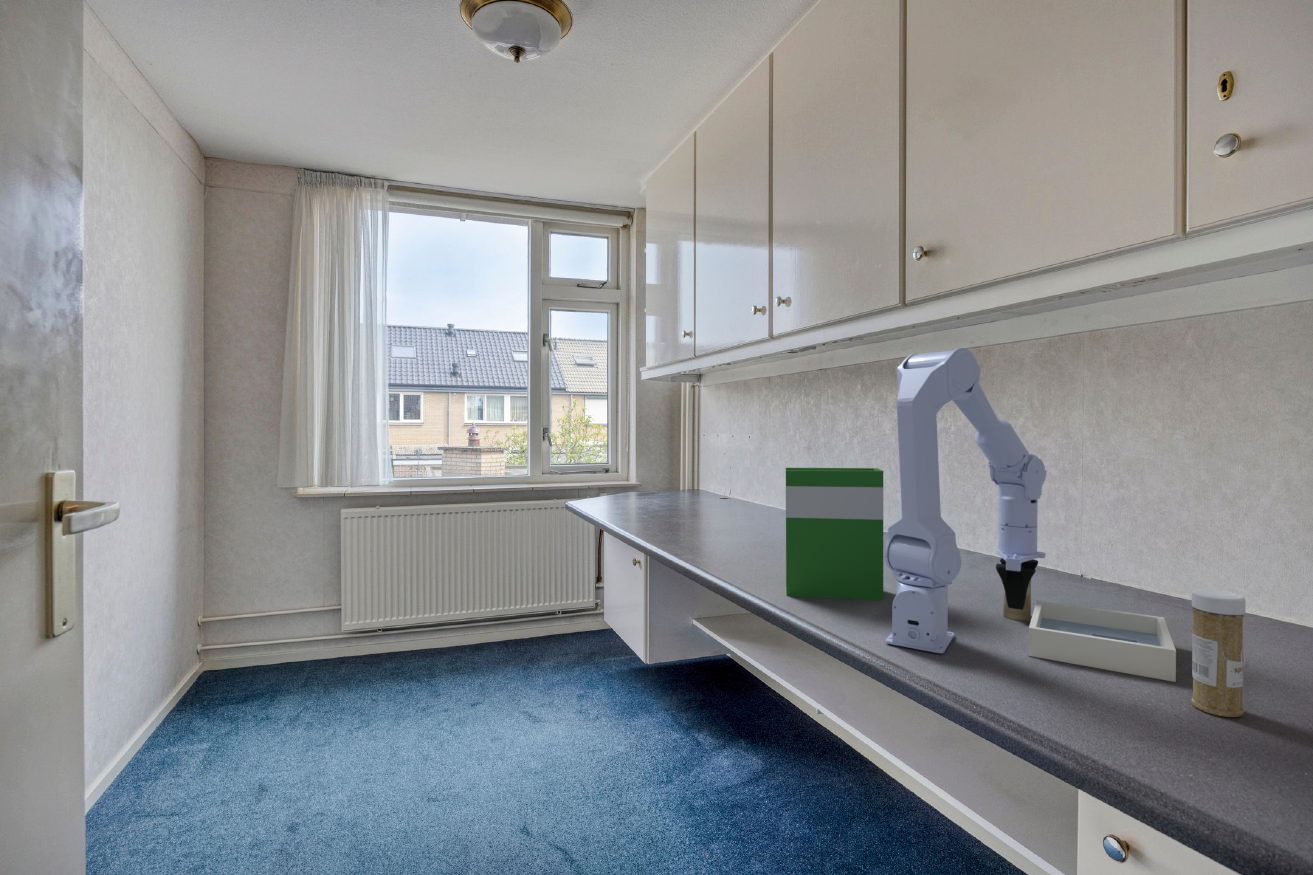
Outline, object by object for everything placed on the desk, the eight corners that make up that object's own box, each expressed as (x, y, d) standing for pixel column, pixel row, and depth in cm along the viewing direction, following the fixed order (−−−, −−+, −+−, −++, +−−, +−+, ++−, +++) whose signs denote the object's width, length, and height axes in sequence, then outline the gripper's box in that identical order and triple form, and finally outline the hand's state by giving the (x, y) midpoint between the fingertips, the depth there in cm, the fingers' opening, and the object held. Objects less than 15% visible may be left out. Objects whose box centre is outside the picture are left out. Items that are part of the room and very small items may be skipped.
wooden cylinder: (1029, 622, 102) (1030, 573, 102) (1002, 617, 105) (1002, 570, 105) (1031, 615, 106) (1032, 568, 106) (1004, 611, 108) (1005, 565, 108)
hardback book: (786, 595, 119) (785, 470, 119) (786, 585, 127) (785, 467, 126) (883, 599, 116) (883, 471, 115) (877, 589, 123) (877, 468, 123)
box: (1175, 681, 79) (1176, 650, 79) (1028, 655, 88) (1028, 627, 88) (1163, 644, 92) (1163, 617, 92) (1036, 624, 101) (1036, 600, 101)
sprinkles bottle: (1252, 721, 68) (1254, 600, 68) (1200, 714, 70) (1202, 596, 70) (1231, 703, 73) (1233, 589, 72) (1183, 698, 74) (1184, 585, 74)
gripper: (1042, 533, 97) (1042, 620, 97) (1047, 520, 109) (1047, 598, 109) (991, 529, 101) (991, 612, 101) (1001, 517, 113) (1001, 592, 113)
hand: (1017, 604), depth 105 cm, fingers closed on wooden cylinder, 4 cm apart
